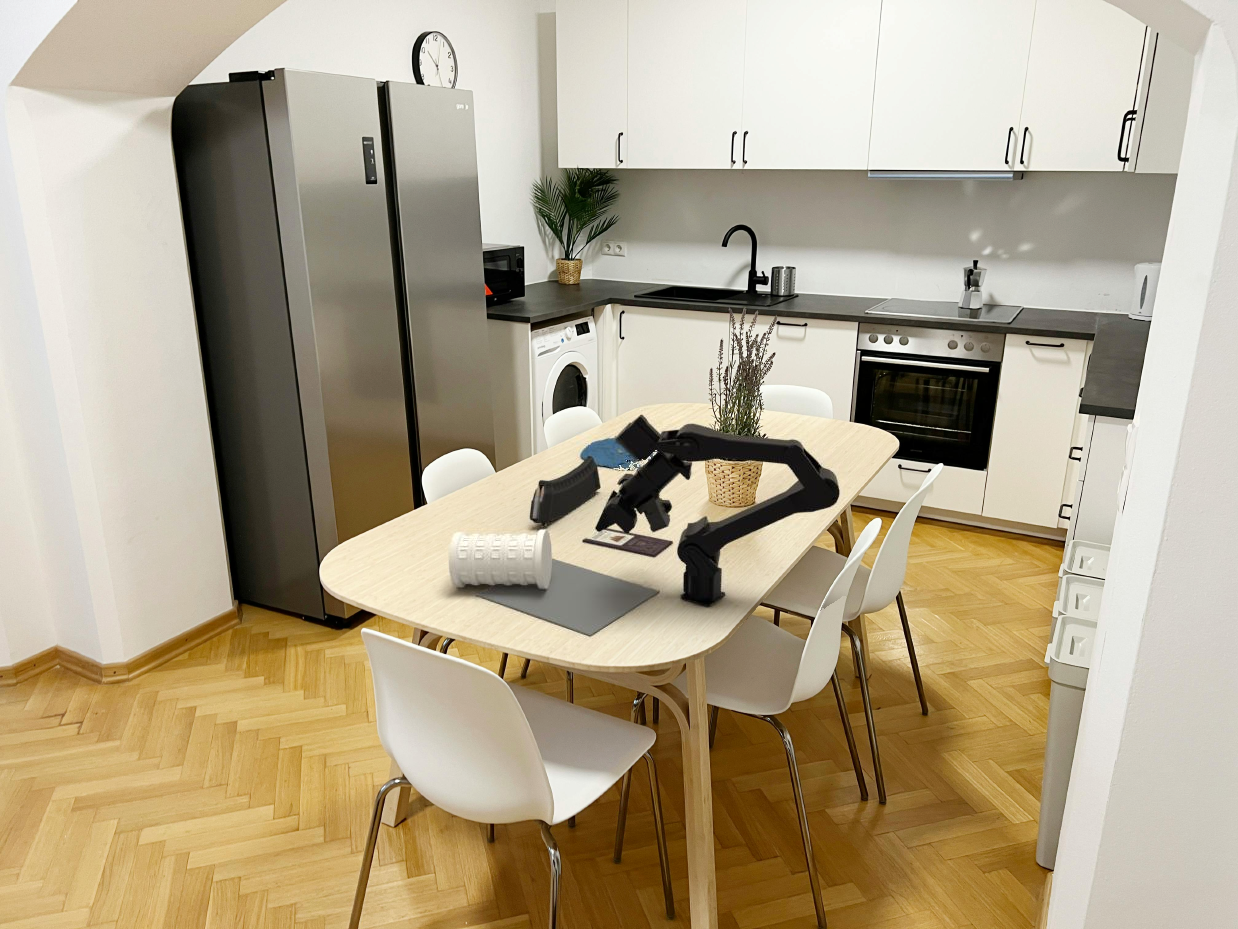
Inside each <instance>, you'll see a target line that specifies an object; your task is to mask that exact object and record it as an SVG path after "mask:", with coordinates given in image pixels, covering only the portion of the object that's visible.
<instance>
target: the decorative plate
mask: <svg viewBox="0 0 1238 929" xmlns="http://www.w3.org/2000/svg"><path fill="white" fill-rule="evenodd" d="M616 437H617V435H615V436H614V437H612V438H611V437H607V438H604V439H599V440H596V441H592V442H591V443H590V444H588V445H587V446H585V448H583V449H582V451H581V452H580V458H581V459H583V461H584V460H585V459H586V458H587V456H591V457H593V458H594V461H595V463H596V464H597V467H603V466H605V467H609V468H611V469H613V468H619V469H620V466H619V465H621V467H622V468H624V469H626V468H629V469H630V467H629V465H630V464H631V461H632V462H633V463H636V461H637V462H638V463H637V464H639V461H640V460H639V459H638V460H639V461H638V460H635V459H634V458H633V457H632V456H631V455H630V454H629V453H628V452H627V451H626V450H625V449H624V448H623V447H622V446H621V445H620V444H619V443H618V442H617V441H616V440H615V438H616ZM654 452H658V451H654ZM653 454H654V453H652V454H651V455H650V457H651V458H652V457H653ZM626 460H628V462H627V461H626ZM629 460H630V463H629ZM634 460H635V461H634ZM649 460H650V459H648V461H649ZM633 463H632V464H633ZM637 464H634V465H633V466H634V467H635V468H634V467H633V468H634V469H636V468H639V467H640V466H641V465H639V467H637Z"/></svg>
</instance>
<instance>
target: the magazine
mask: <svg viewBox="0 0 1238 929" xmlns="http://www.w3.org/2000/svg"><path fill="white" fill-rule="evenodd" d="M598 468H599V467H598V465H597V464H596V463H595V461H594V458H593V457H591V456H587V458H586V459H585V460H584V459H583V461H582V462H581V463H580V464H579V465H578V466H577V467H575V468H573V469H572V470H571V471H569V472H568V473H565V474H564V475H562V476H560V477H557V478H553V479H551V480H546V479H545V480H543V479H539V481H538V484H537V487H536V489H535V490H534V493H533V496H532V500H531V502H530V511H529V520H530V521H532V522H533V523H534V524H540V527H544V526H545V527H546V526H547V523H549V522H552V521H554V520H557V519H560V518H563V517H565V516H567V515H569V514H570V512H571V513H572V512H573V510H574V511H575V510H576V508H577V509H578V508H579V507H581V506H582V505H583V504H584V503H585V502H587V501H588V500H589V499H590V498H591V497H592V496H593V495H595V493H596V492H597V491H598V490H600V489H601V481H600V475H599V469H598Z"/></svg>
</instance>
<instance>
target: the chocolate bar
mask: <svg viewBox="0 0 1238 929" xmlns="http://www.w3.org/2000/svg"><path fill="white" fill-rule="evenodd" d="M581 542H582V543H585V544H588V545H592V546H593V545H594V546H597V547H603V548H608V549H611V550H617V551H622V552H626V553H630V554H636V555H641V556H646V557H649V558H656V557H657V556H658V555H660V554H661V553H662V552H664V551H665V550H667V549H668V548H669V547H670V546H672V545H673V544H674V541H673V540H668V539H664V538H658V537H653V536H650V535H649V536H648V535H643V534H639V533H634V532H629V533H625V532H624V531H623V530H618V529H613V528H610V527H608V528H606V529H604V530H602V531H600V532H598V531H597V530H596V531H594V532H593V533H592V534H590V535H588V536H587V537H585V538H583V539H582V540H581Z"/></svg>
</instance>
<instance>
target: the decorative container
mask: <svg viewBox="0 0 1238 929" xmlns="http://www.w3.org/2000/svg"><path fill="white" fill-rule="evenodd" d="M449 546H450V547H449V552H448V565H449V566H448V567H449V568H448V569H449V576H450V580H451V583H452V586H453V587H455V588H464V587H466V585H473V586H480V585H485V584H486V585H489V586H494V585H497V584H505V585H513V584H521V585H529V584H537V585H538V588H539V589H547V588H548V586H549V583H550V579H551V569H552V559H553V551H552V540H551V536H550V532H549V530H548V529H539V530H538V532H537V534H529V533H526V532H525V533H521V534H514V533H505V534H504V535H503V534H501V535H498V534H497V533H489V534H486V535H484V534H481V533H473V534H472V535H467V533H466V532H465V531H459V532H458V531H457V532H455V533H454V534H453V535H452V538H451V540H450V545H449Z"/></svg>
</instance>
